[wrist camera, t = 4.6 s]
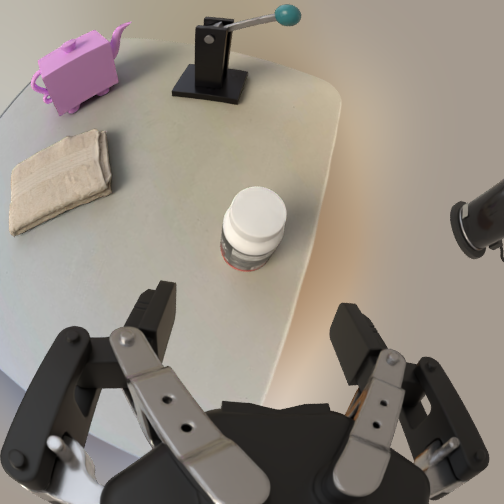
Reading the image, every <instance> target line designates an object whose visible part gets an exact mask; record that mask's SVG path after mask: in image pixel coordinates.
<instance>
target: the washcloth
mask: <svg viewBox="0 0 504 504" xmlns="http://www.w3.org/2000/svg"><path fill="white" fill-rule="evenodd" d="M107 144H108V143H107V136H106V131H101V132H98V130H97V129H92V130H90V131H87V132H85V133H81V134H79V135H75V136H67V137H65V138H63V139H62V140H61V141H59V142H57V143H55V144H53V145H51V146H49V147H47V148H45V149H43V150H41V151H39V152H37V153H36V154H34V155H33V156H31V157H29V158H28V159H26V160H24V161H22V162H21V163H19V164H17V166H16V167H15V168H14V169H13V170H12V173H11V174H12V175H11V191H12V192H11V201H12V202H11V204H10V210H9V231H10V234H11V235H12V236H14V237H15V236H18V235H19V234H21V233H23V232H25V231H27V230H28V229H31V228H33V227H35V226H37V225H39V224H41V223H43V222H45V221H47V220H48V219H51V218H53V217H55V216H57V215H59V214H61V213H63V212H65V211H66V210H70V209H73V208H74V207H77V206H79V205H81V204H86V203H89V202H90V201H93V200H95V199H97V198H98V197H102V196H107V195H109V194H110V193H112V191H111V186H110V184H111V178H112V174H111V167H110V162H109V155H108V145H107Z"/></svg>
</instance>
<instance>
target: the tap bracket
mask: <svg viewBox="0 0 504 504" xmlns="http://www.w3.org/2000/svg"><path fill="white" fill-rule="evenodd" d="M219 22H222V23H223V25H224V26H225V25H228V24H232V23H234V19H225V18H215V17H205V18H204V26H202V25H198V26H197V27H196V32H195V65H194V64H189V65H188V67H187V68H186V69H185V71H184V73H183V74H182V76H181V77H180V79H179V80H178V82H177V83H176V85H175V86H174V88H173V90H172V96H178V97H188V98H196V99H204V100H211V101H218V102H224V103H230V104H236V105H237V104H238V101H239V98H240V95H241V92H242V89H243V87H244V84H245V81H246V78H247V74H248V72H246V71H241V70H235V69H228V64H229V55H230V47H231V39H232V32H233V31H230V32H228V28H224V27H215V26H209V25H212V24H215V23H219ZM227 32H228V34H227Z"/></svg>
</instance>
